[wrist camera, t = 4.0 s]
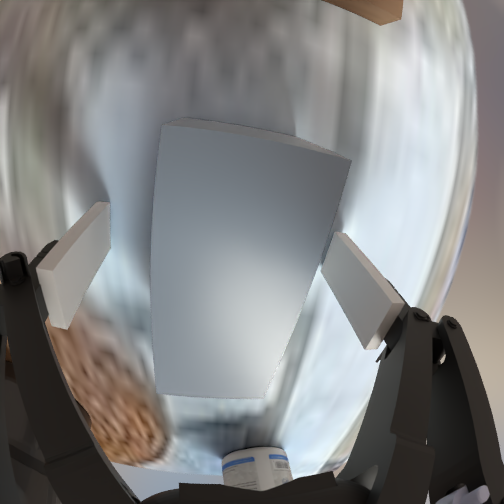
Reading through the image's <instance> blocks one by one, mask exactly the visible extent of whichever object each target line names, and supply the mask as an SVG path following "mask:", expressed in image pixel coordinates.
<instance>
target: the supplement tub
mask: <svg viewBox="0 0 504 504" xmlns="http://www.w3.org/2000/svg"><path fill="white" fill-rule="evenodd" d="M222 472H223V479H224V485H226V486H232V487H237V488H243V489H250V490H257V491H264V490H268V489H271V488H274V487H276V486H279V485H282V484H284V483H287V482H290V481H292V480H293V478H292V474H291V470H290V466H289V462H288V458H287V454H286V452H285V451H284V450H282V449H280V448H276V447H255V448H249V449H245V450H238V451H235V452H232V453H230V454H228V455H227V456H225V457H224V458H223V460H222Z"/></svg>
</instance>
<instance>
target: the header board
mask: <svg viewBox="0 0 504 504" xmlns="http://www.w3.org/2000/svg"><path fill="white" fill-rule="evenodd" d="M322 1H325V2H328V3H331V4H333V5H336V6H338V7H341V8H343V9H346V10H348V11H350V12H353V13H355V14H357V15H360V16H362V17H364V18H366V19H368V20H370V21H372V22H374V23H376V24H378V25H380V26H381V25H384V24H387V23H391V22H394V21H397V20H401V17H402V8H403V0H322Z"/></svg>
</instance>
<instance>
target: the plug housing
mask: <svg viewBox="0 0 504 504" xmlns="http://www.w3.org/2000/svg"><path fill="white" fill-rule="evenodd" d="M351 162H352V161H351V160H349V159H347V158H345V157H343V156H341V155H338V154H336V153H334V152H332V151H329V150H327V149H325V148H322V147H320V146H318V145H315V144H313V143H311V142H308V141H306V140H303V139H301V138H298V137H295V136H290V135H286V134H282V133H277V132H272V131H268V130H263V129H258V128H252V127H247V126H241V125H235V124H229V123H223V122H216V121H209V120H201V119H193V118H181V119H178V120H175V121H172V122H169V123H165V124H162V126H161V133H160V141H159V148H158V156H157V165H156V175H155V186H154V198H153V212H152V230H151V263H150V296H151V328H152V346H153V360H154V372H155V382H156V392H157V394H166V395H176V396H188V397H202V398H226V399H263V398H264V396H265V394H266V392H267V390H268V388H269V385H270V383H271V381H272V379H273V377H274V374H275V372H276V370H277V368H278V365H279V363H280V361H281V358H282V356H283V354H284V351H285V349H286V347H287V344H288V342H289V340H290V337H291V335H292V332H293V330H294V327H295V325H296V323H297V320H298V318H299V315H300V313H301V310H302V307H303V305H304V302H305V300H306V297H307V294H308V292H309V289H310V287H311V284H312V281H313V278H314V276H315V273H316V270H317V268H318V265H319V262H320V259H321V256H322V253H323V251H324V248H325V245H326V242H327V239H328V236H329V233H330V230H331V227H332V224H333V221H334V218H335V215H336V212H337V209H338V205H339V202H340V199H341V196H342V192H343V189H344V186H345V182H346V179H347V176H348V172H349V169H350V165H351Z"/></svg>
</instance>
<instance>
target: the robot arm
mask: <svg viewBox="0 0 504 504" xmlns="http://www.w3.org/2000/svg"><path fill="white" fill-rule="evenodd" d="M110 249H111V236H110V202H100V201H97V202H96V203H95V204H94V205H93V206H92V207H91V208H90V209H89V210H88V211H87V212H86V213H85V214H84V215H83V216H82V217H81V218H80V219H79V220H78V221H77V222H76V223H75V224H74V225H73V226H72V227H71V228H70V229H69V230H68V232H67V233H66V234H65V235H64V236H63V237H62V238H61V239H60V240H59V241H58V240H54V241H52V242H51V243H49V244H47V245H46V246H45V247H44V248H43V249H42V250H41V252H40V253H39V254H38V255H37V257H35V258H34V259H33V260H32V262H31V263H30V264H29V265H28V261H27V257H26V255H25V254H24V253H22V252H11V253H8V254H5V255H4V256H2V257H1V258H0V280H1V283H2V284H0V504H425V502H426V498H427V494H428V490H429V498H430V504H504V464H503V462H502V459H501V453H500V447H499V442H498V437H497V433H496V428H495V424H494V419H493V415H492V412H491V408H490V404H489V401H488V398H487V394H486V391H485V388H484V385H483V382H482V379H481V376H480V373H479V370H478V367H477V364H476V362H475V359H474V357H473V354H472V352H471V349H470V346H469V344H468V342H467V339H466V337H465V334H464V332H463V330H462V327H461V326H460V324H459V323H458V322H457V320H456V319H454V318H453V317H450V316H446V315H445V316H443V317H442V318H441V320H440V322H439V323H436V322H432V321H431V318H430V317H429V315H428V314H427V313H426V312H424V311H423V310H421V309H419V308H416V307H410V306H409V305H408V304H407V302H406V301H405V300H404V299H403V297H402V296H401V295H400V294H398V291H397V290H396V289H394V286H393V285H392V284H391V283H390V282H389V281H388V280H387V279H386V278H384V277H383V275H382V274H381V273H380V272H379V271H378V269H377V268H376V267H375V266H374V265H373V264H372V262H371V261H370V260H369V259H368V258H367V257H366V256H365V254H364V253H363V252H362V251H361V250H360V249H359V248H358V246H357V245H356V244H355V243H354V242H353V241H352V240H351V239H350V238H349V237H348V235H347V234H346V233H341V232H334V235H333V238H332V241H331V244H330V246H329V249H328V252H327V255H326V258H325V260H324V263H323V266H322V269H321V273H322V274H323V276H324V278H325V280H326V281H327V283H328V285H329V286H330V288H331V290H332V292H333V293H334V295H335V297H336V299H337V300H338V302H339V304H340V306H341V307H342V309H343V311H344V313H345V315H346V316H347V318H348V320H349V322H350V324H351V325H352V327H353V329H354V331H355V333H356V335H357V336H358V338H359V340H360V342H361V344H362V346H363V348H364V349H365V350H371V349H378V347H379V346H380V344H381V343H382V341H383V340H384V341H385V342H386V344H387V345H386V347H385V348H384V350H383V351H382V353H381V354H380V356H379V357H378V359H377V360H376V362H377V363H378V361H379V360H381V361H380V365H379V369H378V373H377V377H376V380H375V384H374V387H373V391H372V394H371V398H370V401H369V404H368V407H367V410H366V413H365V416H364V419H363V422H362V425H361V428H360V431H359V433H358V436H357V439H356V441H355V444H354V447H353V449H352V452H351V454H350V457H349V459H348V461H347V464H346V465H345V467H344V469H343V470H342V471H341V472H340V473H339V474H338V476H337V477H336V478H335V477H334V474H333V471H330V472H326V473H321V474H316V475H311V476H305V477H299V478H297V479H295V480H292V481H290V482H287V483H284V484H282V485H279V486H276V487H274V488H271V489H268V490H264V491H257V490H250V489H243V488H237V487H232V486H226V485H221V484H189V483H179V489H173V490H168V491H164V492H161V493H158V494H155V495H153V496H151V497H149V498H147V499H145V500H143V501H142V502H141V501H140V500H139V499H138V498H137V497H136V495H135V494H134V493H133V491H132V490H131V489H130V488H129V486H128V485H127V484H126V483H125V481H124V480H123V479H122V478H121V476H120V475H119V473H118V472H117V471H116V470H115V468H114V467H113V465H112V464H111V462H110V461H109V459H108V458H107V456H106V454H105V453H104V451H103V450H102V448H101V446H100V445H99V443H98V442H97V440H96V438H95V437H94V435H93V433H92V431H91V430H90V428H91V419H90V417H89V415H88V414H87V412H86V411H85V410H84V409H83V408H82V407H81V406H80V405H79V404H78V403H77V402H76V401H75V399H74V397H73V395H72V393H71V390H70V388H69V386H68V384H67V381H66V379H65V377H64V374H63V372H62V370H61V367H60V365H59V362H58V359H57V357H56V354H55V351H54V349H53V346H52V343H51V340H50V337H49V334H48V331H47V328H46V325H45V321H46V319H47V317H48V315H49V319H50V322H51V325H52V326H54V327H58V328H63V329H68V327H69V325H70V323H71V321H72V319H73V317H74V315H75V313H76V311H77V309H78V307H79V305H80V303H81V301H82V299H83V297H84V295H85V293H86V291H87V289H88V287H89V285H90V284H91V282H92V280H93V278H94V276H95V275H96V273H97V271H98V269H99V267H100V266H101V264H102V262H103V261H104V259H105V257H106V255H107V254H108V252H109V250H110ZM7 337H8V343H9V348H10V354H11V358H12V363H10V362H7V361H5V356H6V343H7ZM445 354H446V357H445V360H444V362H443V363H442V364H441V362H440V360H441V358H442V357H443V356H444V355H445ZM426 438H427V445H426Z"/></svg>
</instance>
